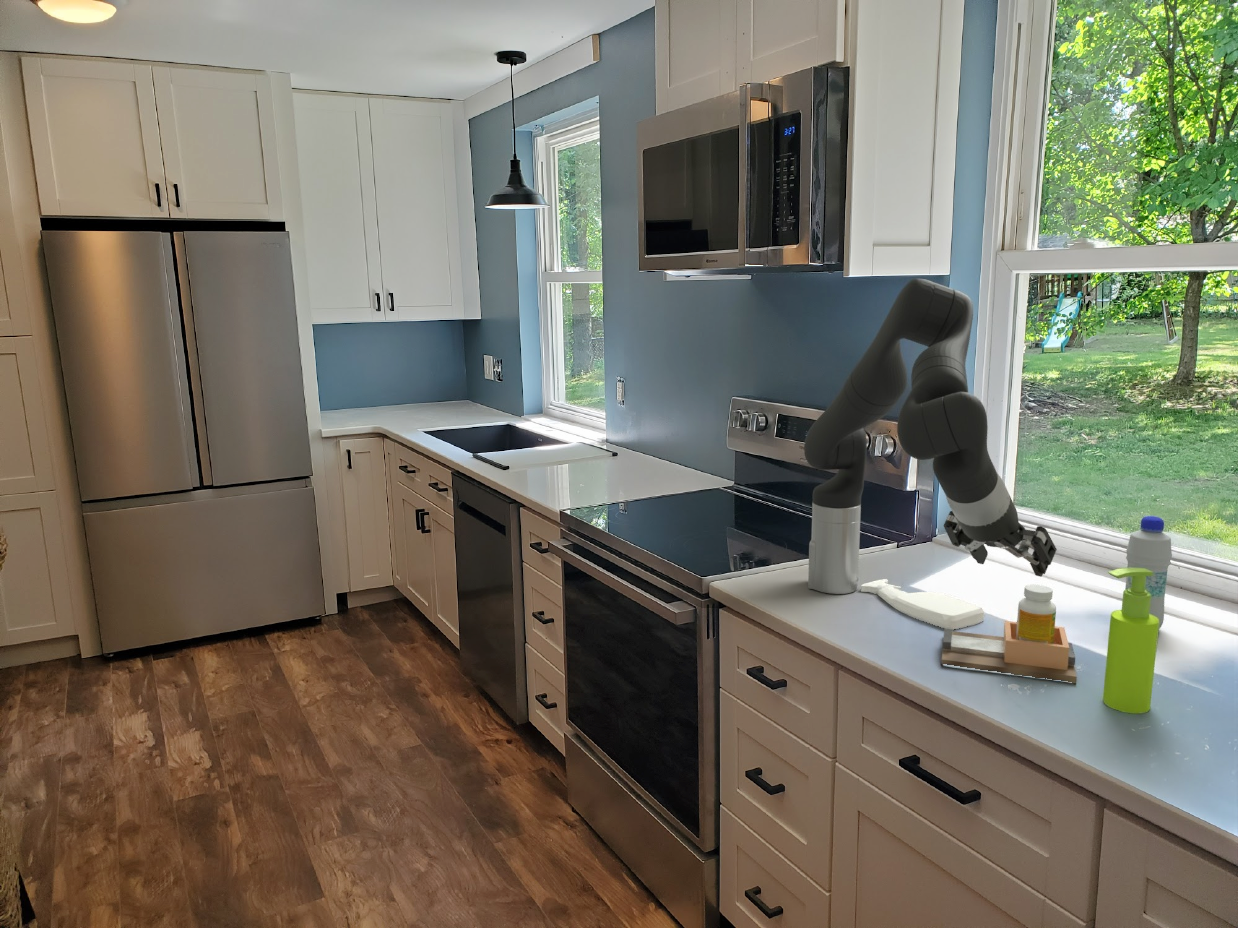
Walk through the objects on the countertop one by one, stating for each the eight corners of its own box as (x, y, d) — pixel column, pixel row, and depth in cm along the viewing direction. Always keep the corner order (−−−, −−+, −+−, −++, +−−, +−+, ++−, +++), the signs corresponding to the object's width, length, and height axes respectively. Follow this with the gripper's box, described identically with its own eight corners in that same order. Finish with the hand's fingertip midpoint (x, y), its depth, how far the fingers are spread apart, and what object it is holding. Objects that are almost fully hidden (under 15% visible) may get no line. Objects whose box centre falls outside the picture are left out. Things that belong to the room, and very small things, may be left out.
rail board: (941, 666, 141) (941, 659, 141) (944, 636, 153) (944, 630, 153) (1076, 684, 134) (1076, 676, 134) (1068, 651, 146) (1069, 644, 146)
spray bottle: (947, 634, 155) (848, 595, 176) (990, 622, 160) (889, 586, 181) (947, 618, 154) (848, 581, 176) (991, 606, 159) (889, 572, 181)
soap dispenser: (1087, 696, 130) (1099, 564, 126) (1132, 693, 131) (1145, 562, 127) (1112, 715, 124) (1125, 577, 120) (1159, 712, 125) (1174, 575, 121)
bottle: (1158, 623, 157) (1170, 513, 153) (1168, 637, 151) (1180, 522, 147) (1115, 619, 159) (1126, 510, 155) (1123, 633, 153) (1134, 520, 149)
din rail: (942, 650, 144) (943, 641, 144) (944, 637, 149) (944, 628, 149) (1074, 667, 137) (1075, 657, 137) (1071, 652, 142) (1071, 643, 142)
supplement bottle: (1056, 655, 138) (1062, 595, 136) (1019, 652, 139) (1024, 593, 137) (1048, 641, 143) (1052, 583, 141) (1012, 639, 144) (1016, 581, 143)
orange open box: (1004, 662, 139) (1005, 640, 139) (1003, 641, 147) (1004, 620, 147) (1067, 669, 136) (1069, 647, 135) (1062, 648, 144) (1064, 627, 143)
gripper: (1043, 487, 117) (1071, 553, 127) (941, 472, 128) (974, 534, 138) (1023, 534, 115) (1052, 597, 125) (920, 515, 125) (955, 575, 135)
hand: (1011, 564), depth 131 cm, fingers open, 8 cm apart
